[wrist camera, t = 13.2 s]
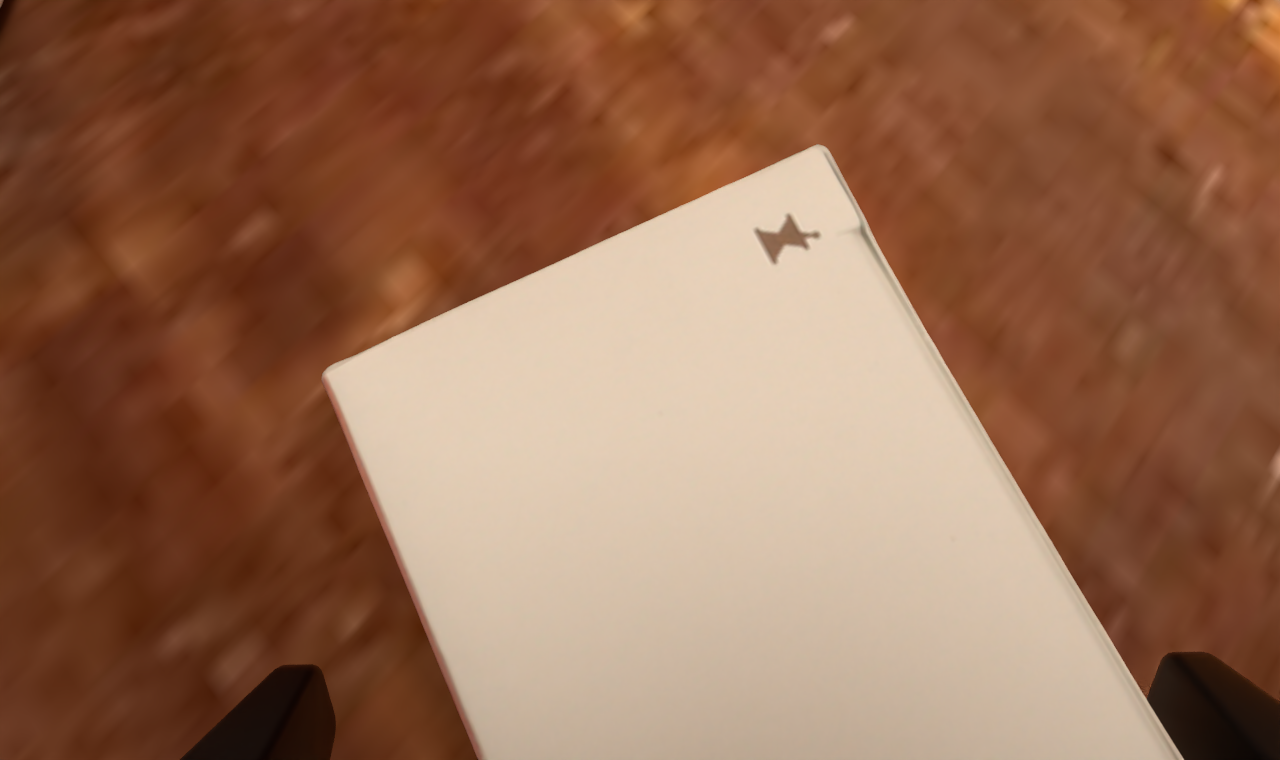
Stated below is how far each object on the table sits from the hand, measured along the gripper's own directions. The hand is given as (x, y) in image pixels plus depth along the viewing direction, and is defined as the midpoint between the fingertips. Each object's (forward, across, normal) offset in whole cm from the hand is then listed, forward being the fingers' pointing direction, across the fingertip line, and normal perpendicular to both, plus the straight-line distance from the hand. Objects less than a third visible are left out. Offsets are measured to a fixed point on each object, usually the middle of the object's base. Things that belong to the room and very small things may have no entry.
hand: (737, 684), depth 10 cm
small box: (+6, 0, +6) cm, 9 cm away
